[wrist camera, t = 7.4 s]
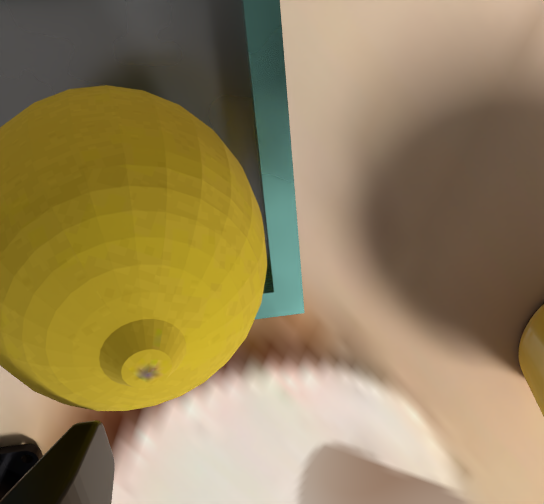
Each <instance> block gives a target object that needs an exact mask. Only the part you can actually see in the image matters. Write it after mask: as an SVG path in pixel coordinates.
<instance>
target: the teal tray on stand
mask: <svg viewBox="0 0 544 504" xmlns="http://www.w3.org/2000/svg"><path fill="white" fill-rule="evenodd" d="M104 85H108V86H115V87H123V88H130V89H137V90H143V91H146V92H149V93H151V94H154V95H156V96H159V97H161V98H163V99H166V100H168V101H171V102H173V103H176V104H178V105H180V106H182V107H183V108H184V109H186V110H187V111H188V112H190V113H191V114H192V115H194V116H195V117H197V118H198V119H199V120H201V121H202V122H203V123H205V124H206V125H207V126H209V127H210V128H211V129H212V130H213V131H214V132H215V133H216V134H217V135H218V136H219V137H220V139H221V140H222V141H223V142H224V144H225V145H226V146H227V147H228V149H229V150H230V151H231V153H232V154H233V155H234V156H235V158H236V159H237V160H238V161H239V163H240V165H241V166H242V168H243V170H244V172H245V174H246V177H247V179H248V181H249V184H250V186H251V188H252V191H253V193H254V196H255V198H256V200H257V203H258V205H259V208H260V212H261V215H262V220H263V226H264V235H265V245H266V254H267V271H266V278H265V284H264V290H263V296H262V302H261V305H260V307H259V310H258V312H257V314H256V317H255V319H261V318H269V317H277V316H285V315H292V314H300V313H304V302H303V289H302V277H301V264H300V252H299V239H298V226H297V214H296V201H295V189H294V176H293V163H292V151H291V138H290V126H289V113H288V100H287V88H286V75H285V62H284V50H283V37H282V25H281V12H280V0H0V127H1V126H3V125H4V124H5V123H7V122H8V121H9V120H11V119H12V118H14V117H15V116H16V115H18V114H19V113H20V112H22V111H23V110H24V109H26V108H27V107H29V106H30V105H31V104H33V103H34V102H37V101H39V100H42V99H45V98H47V97H50V96H53V95H55V94H58V93H60V92H63V91H66V90H68V89H75V88H85V87H94V86H104Z"/></svg>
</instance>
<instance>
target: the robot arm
mask: <svg viewBox="0 0 544 504" xmlns="http://www.w3.org/2000/svg"><path fill="white" fill-rule="evenodd" d="M27 455H30V456H27ZM113 480H114V457H113V454H112V451H111V447H110V444H109V441H108V438H107V435H106V432H105V429H104V426H103V424H102V423H101V422H100V421H89V422H81V423H77V424H75V425H73V426H72V427H71V428H70V429H69V430H68V431H67V432H66V433H65V434H64V435H63V436H62V437H61V438H60V439H59V440H58V441H57V442H56V443H55V444H54V445H53V446H52V447H51V448H50V449H49V450H48V452H47V453H46V454H45V455H44V456H43V455H42V452H41V450H40V449H39V448H38V447H37V446H35V445H32V444H24V445H17V446H9V447H2V448H0V504H111V500H112V490H113Z"/></svg>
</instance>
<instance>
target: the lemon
mask: <svg viewBox="0 0 544 504" xmlns="http://www.w3.org/2000/svg"><path fill="white" fill-rule="evenodd" d="M266 271H267V254H266V245H265V235H264V226H263V220H262V215H261V212H260V208H259V205H258V203H257V200H256V198H255V196H254V193H253V191H252V188H251V186H250V184H249V181H248V179H247V177H246V174H245V172H244V170H243V168H242V166H241V165H240V163H239V161H238V160H237V159H236V158H235V156H234V155H233V154H232V153H231V151H230V150H229V149H228V147H227V146H226V145H225V144H224V142H223V141H222V140H221V139H220V137H219V136H218V135H217V134H216V133H215V132H214V131H213V130H212V129H211V128H210V127H209V126H207V125H206V124H205V123H203V122H202V121H201V120H199V119H198V118H197V117H195V116H194V115H192V114H191V113H190V112H188V111H187V110H186V109H184V108H183V107H182V106H180V105H178V104H176V103H173V102H171V101H168V100H166V99H163V98H161V97H159V96H156V95H154V94H151V93H149V92H146V91H143V90H137V89H130V88H123V87H115V86H108V85H104V86H94V87H85V88H75V89H68V90H66V91H63V92H60V93H58V94H55V95H53V96H50V97H47V98H45V99H42V100H39V101H37V102H34V103H33V104H31V105H30V106H29V107H27V108H26V109H24V110H23V111H22V112H20V113H19V114H18V115H16V116H15V117H14V118H12V119H11V120H9V121H8V122H7V123H5V124H4V125H3V126H1V127H0V365H1V366H2V367H3V368H4V369H6V370H7V371H8V372H9V373H11V374H12V375H13V376H15V377H16V378H17V379H19V380H20V381H21V382H23V383H24V384H25V385H27V386H28V387H29V388H31V389H32V390H33V391H35V392H37V393H40V394H42V395H44V396H47V397H49V398H51V399H54V400H56V401H58V402H61V403H63V404H67V405H70V406H75V407H81V408H86V409H91V410H96V411H128V410H133V409H139V408H144V407H149V406H155V405H158V404H160V403H163V402H166V401H168V400H171V399H174V398H177V397H179V396H182V395H183V394H185V393H187V392H188V391H190V390H192V389H193V388H195V387H197V386H199V385H200V384H202V383H204V382H205V381H206V380H207V379H208V378H210V377H211V376H212V375H213V374H214V373H215V372H217V371H218V370H219V369H220V368H221V367H222V366H223V365H225V363H226V362H227V361H228V360H229V359H230V358H231V357H232V355H233V354H234V353H235V352H236V350H237V349H238V348H239V346H240V345H241V344H242V342H243V341H244V340H245V338H246V337H247V335H248V332H249V330H250V328H251V326H252V323H253V321H254V319H255V317H256V314H257V312H258V310H259V307H260V305H261V302H262V296H263V290H264V284H265V278H266Z"/></svg>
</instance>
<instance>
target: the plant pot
mask: <svg viewBox="0 0 544 504" xmlns="http://www.w3.org/2000/svg"><path fill="white" fill-rule="evenodd" d="M518 356H519V363H520V367H521V370H522V372H523V375H524V377H525V379H526V381H527V383H528V385H529V387H530V389H531V391H532V393H533V395H534V397H535V400H536V402H537V404H538V406H539V408H540V410H541V412H542V414H543V416H544V304H543V305H542V306H541V307H540V308H539V309H538V310H537V311H536V313H535V314H534V315H533V316H532V318H531V319H530V321H529V322H528V324H527V326H526V328H525V330H524V332H523V334H522V337H521V340H520V344H519V353H518Z"/></svg>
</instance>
